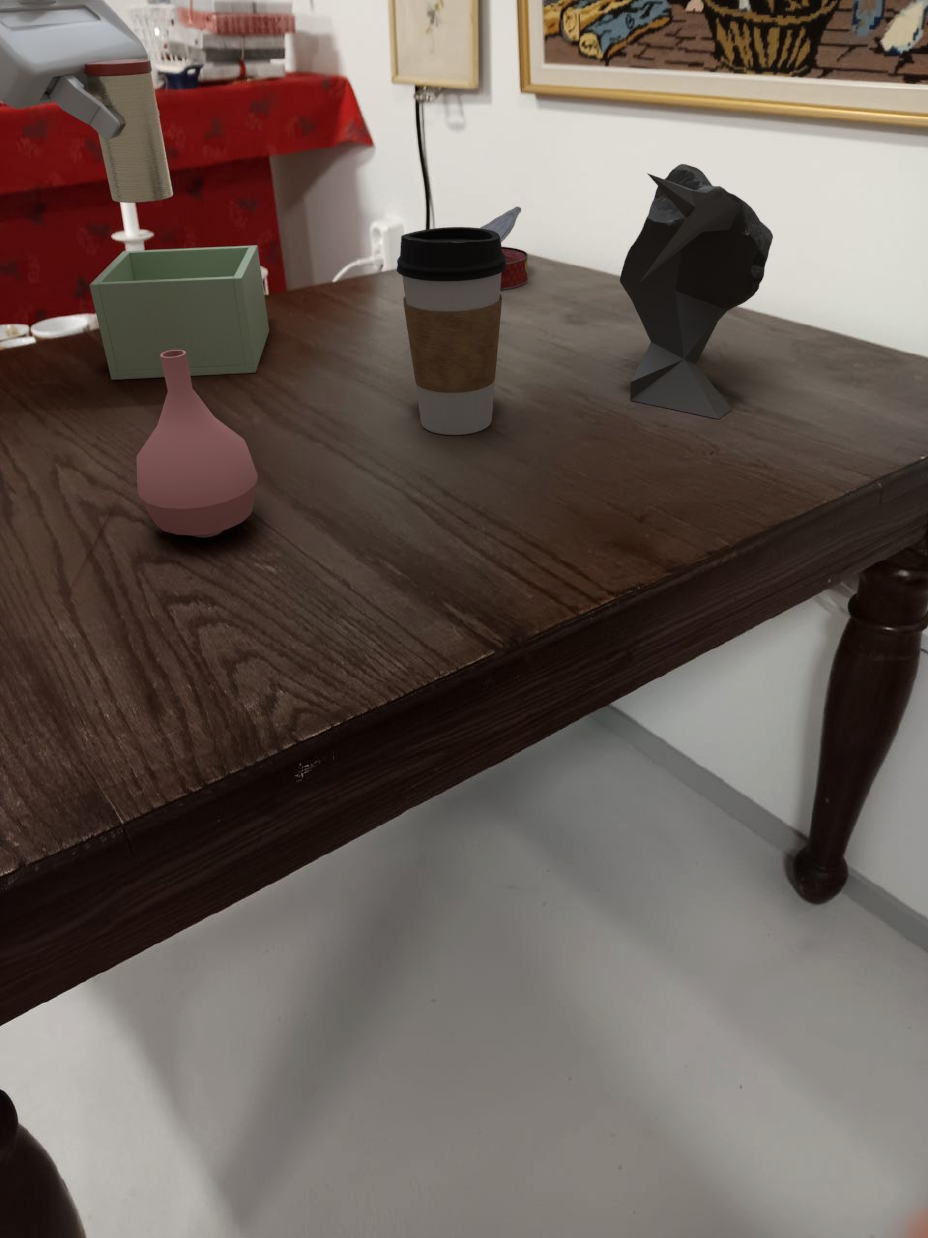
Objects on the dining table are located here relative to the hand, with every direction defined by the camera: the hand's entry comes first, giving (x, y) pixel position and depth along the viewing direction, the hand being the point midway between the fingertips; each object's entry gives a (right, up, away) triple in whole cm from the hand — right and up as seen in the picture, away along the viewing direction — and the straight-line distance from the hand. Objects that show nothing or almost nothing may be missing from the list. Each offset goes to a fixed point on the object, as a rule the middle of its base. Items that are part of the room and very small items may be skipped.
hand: (136, 126), depth 78 cm
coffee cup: (+26, -24, +1) cm, 36 cm away
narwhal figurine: (+47, -18, +9) cm, 51 cm away
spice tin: (0, -4, +3) cm, 5 cm away
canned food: (+30, +1, +40) cm, 50 cm away
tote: (0, -14, +18) cm, 23 cm away
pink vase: (+10, -34, -14) cm, 38 cm away
